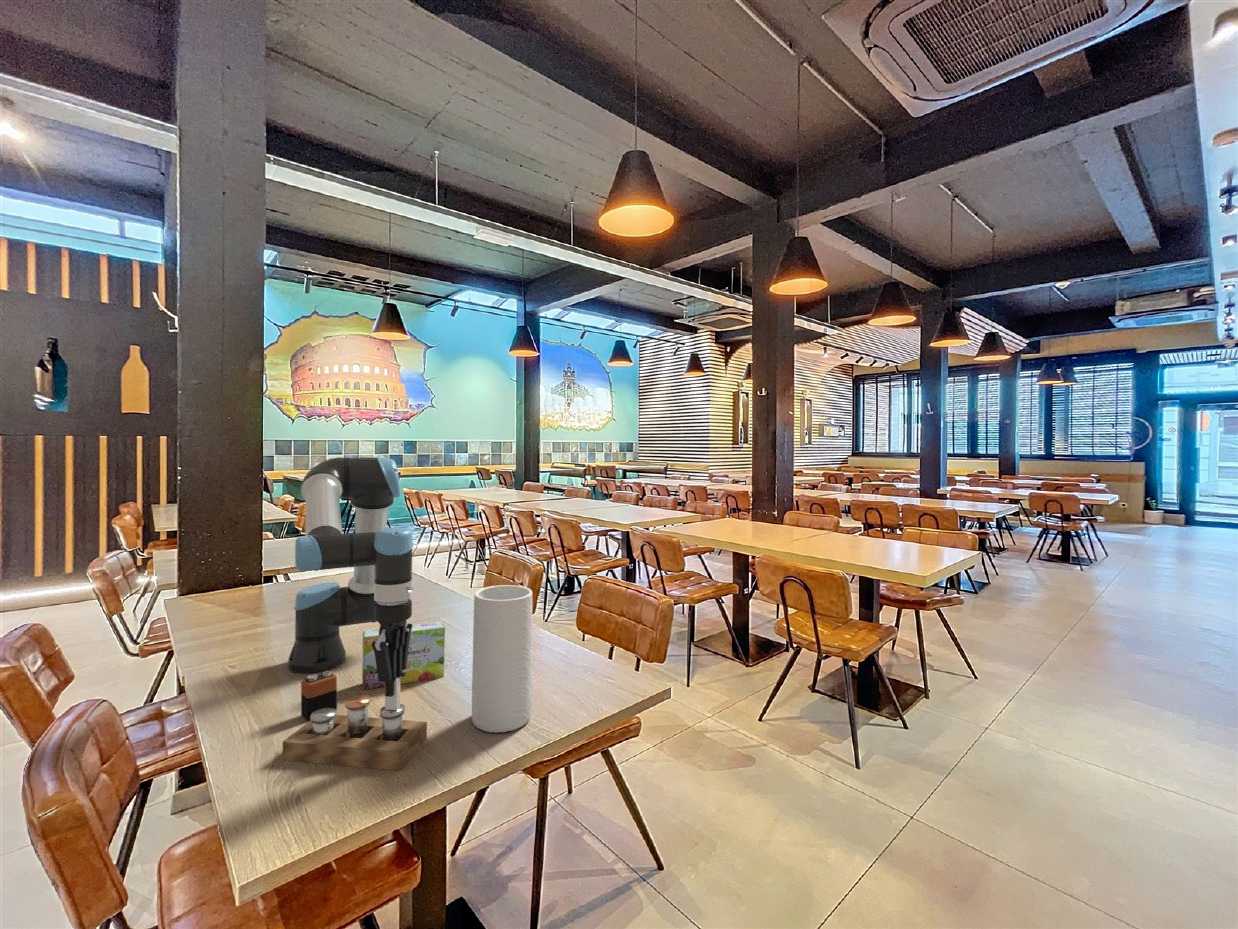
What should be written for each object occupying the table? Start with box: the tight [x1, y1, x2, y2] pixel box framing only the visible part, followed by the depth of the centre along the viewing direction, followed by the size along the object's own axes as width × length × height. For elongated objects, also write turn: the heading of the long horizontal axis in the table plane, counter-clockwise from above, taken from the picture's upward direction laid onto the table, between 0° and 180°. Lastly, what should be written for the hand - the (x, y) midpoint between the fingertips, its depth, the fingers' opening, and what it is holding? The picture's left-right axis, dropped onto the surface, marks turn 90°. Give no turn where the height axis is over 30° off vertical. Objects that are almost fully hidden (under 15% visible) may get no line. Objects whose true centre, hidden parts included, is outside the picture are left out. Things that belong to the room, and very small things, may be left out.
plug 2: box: [379, 703, 406, 741], centre depth 118 cm, size 5×5×6 cm
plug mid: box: [344, 694, 371, 734], centre depth 119 cm, size 5×5×6 cm
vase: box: [471, 584, 533, 734], centre depth 133 cm, size 14×14×32 cm
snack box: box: [361, 621, 446, 691], centre depth 153 cm, size 21×6×15 cm, turn 117°
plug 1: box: [310, 708, 337, 735], centre depth 120 cm, size 5×5×6 cm
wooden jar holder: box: [282, 714, 428, 772], centre depth 119 cm, size 26×12×4 cm, turn 84°
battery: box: [300, 670, 338, 722], centre depth 134 cm, size 4×7×10 cm, turn 142°
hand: (392, 708), depth 118 cm, fingers closed
